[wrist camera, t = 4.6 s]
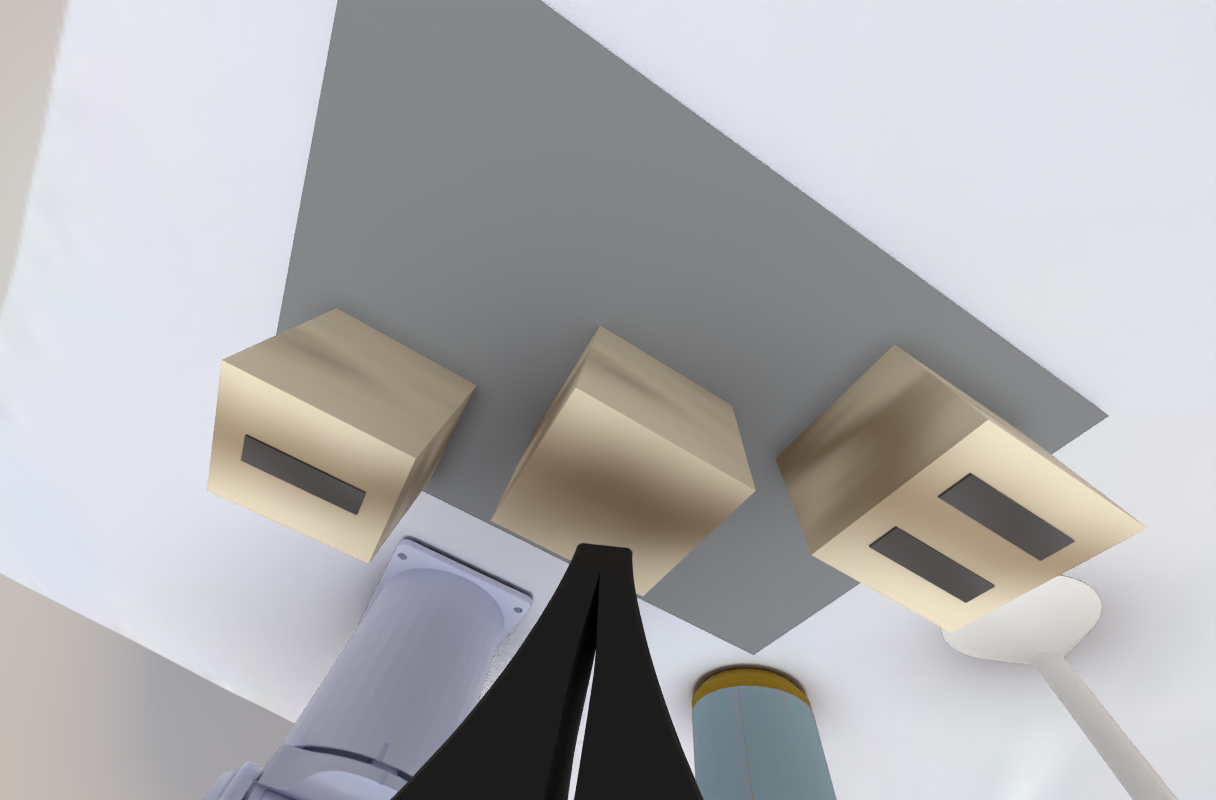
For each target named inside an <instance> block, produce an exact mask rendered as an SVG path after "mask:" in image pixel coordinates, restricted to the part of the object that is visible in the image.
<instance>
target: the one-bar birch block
mask: <svg viewBox="0 0 1216 800" xmlns="http://www.w3.org/2000/svg"><path fill="white" fill-rule="evenodd" d="M475 388H476V385H475V384H474V383H472V382H470V381H468V380H466V379H465V378H463V377H461V376H459V375H457V374H455V373H454V372H452V371H450V370H448V369H446V368H445V367H443V366H441V365H439V364H437V363H435V362H434V361H432V360H430V359H428V358H426V357H425V356H423V355H421V354H419V353H417V352H416V351H414V350H412V349H410V348H408V347H406V346H405V345H403V344H401V343H399V342H397V341H396V340H394V339H392V338H390V337H388V336H386V335H385V334H383V333H381V332H379V331H377V330H376V329H374V328H372V327H370V326H368V325H367V324H365V323H363V322H361V321H359V320H357V319H356V318H354V317H352V316H350V315H348V314H347V313H345V312H343V311H341V310H339V309H337V308H336V309H333V310H331V311H329V312H327V313H325V314H322V315H320V316H318V317H316V318H314V319H311V320H309V321H307V322H305V323H303V324H300V325H298V326H296V327H294V328H292V329H289V330H287V331H285V332H283V333H280V334H278V335H276V336H274V337H272V338H269V339H267V340H265V341H263V342H261V343H258V344H256V345H254V346H252V347H250V348H247V349H245V350H243V351H241V352H239V353H236V354H234V355H232V356H230V357H227V358H225V359H223V360H222V364H221V373H220V381H219V390H218V399H217V408H216V417H215V426H214V434H213V443H212V452H211V461H210V470H209V479H208V487H207V491H209V492H211V493H213V494H216V495H218V496H220V497H222V498H224V499H226V500H229V501H231V502H233V503H235V504H237V505H240V506H242V507H244V508H246V509H248V510H251V511H253V512H255V513H257V514H259V515H262V516H264V517H266V518H268V519H270V520H273V521H275V522H277V523H279V524H281V525H284V526H286V527H288V528H290V529H292V530H294V531H297V532H299V533H301V534H303V535H305V536H308V537H310V538H312V539H314V540H316V541H319V542H321V543H323V544H325V545H327V546H330V547H332V548H334V549H336V550H338V551H341V552H343V553H345V554H347V555H349V556H351V557H354V558H356V559H358V560H360V561H362V562H365V563H367V564H369V562H370V561H371V559H372V558H373V557H374V555H375V554H376V553H377V551H378V550H379V549H380V547H381V546H382V544H383V543H384V542H385V540H386V539H387V538H388V536H389V535H390V534H391V532H392V531H393V529H394V528H395V527H396V525H397V524H398V523H399V521H400V520H401V519H402V517H403V516H404V514H405V513H406V512H407V510H408V509H409V508H410V506H411V505H412V504H413V502H414V501H415V499H416V498H417V497H418V495H419V494H420V493H421V491H422V490H423V488H424V487H425V486H426V484H427V483H428V482H429V480H430V479H431V477H432V475H433V473H434V471H435V469H436V467H437V465H438V463H439V461H440V459H441V457H442V455H443V453H444V451H445V449H446V447H447V445H448V442H449V440H450V438H451V436H452V434H453V432H454V430H455V428H456V426H457V424H458V422H459V420H460V418H461V416H462V414H463V412H464V410H465V408H466V406H467V404H468V402H469V400H470V398H471V396H472V394H473V392H474V390H475Z"/></svg>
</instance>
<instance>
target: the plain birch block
mask: <svg viewBox="0 0 1216 800" xmlns="http://www.w3.org/2000/svg"><path fill="white" fill-rule="evenodd" d="M755 491H756V490H755V487H754V483H753V479H752V476H751V472H750V468H749V465H748V461H747V457H746V454H745V450H744V447H743V443H742V439H741V436H740V432H739V428H738V425H737V421H736V417H735V414H734V410H733V407H732V405H731V404H729V403H727V402H726V401H724V400H723V399H721V398H719V397H718V396H716V395H714V394H713V393H711V392H709V391H708V390H706V389H704V388H703V387H701V386H699V385H698V384H696V383H695V382H693V381H691V380H690V379H688V378H686V377H685V376H683V375H681V374H680V373H678V372H676V371H675V370H673V369H671V368H670V367H668V366H667V365H665V364H663V363H662V362H660V361H658V360H657V359H655V358H653V357H652V356H650V355H648V354H647V353H645V352H643V351H642V350H640V349H639V348H637V347H635V346H634V345H632V344H630V343H629V342H627V341H625V340H624V339H622V338H620V337H619V336H617V335H615V334H614V333H612V332H611V331H609V330H607V329H606V328H604V327H602V326H601V325H600V326H599V328H598V329H597V331H596V333H595V334H594V336H593V337H592V339H591V341H590V342H589V344H588V345H587V347H586V349H585V350H584V352H583V354H582V355H581V357H580V358H579V360H578V362H577V363H576V365H575V366H574V368H573V370H572V371H571V373H570V375H569V376H568V378H567V379H566V381H565V383H564V384H563V386H562V388H561V389H560V391H559V392H558V394H557V396H556V397H555V399H554V400H553V402H552V404H551V405H550V407H549V409H548V410H547V412H546V413H545V415H544V417H543V418H542V420H541V422H540V423H539V425H538V426H537V428H536V430H535V431H534V433H533V434H532V436H531V438H530V440H529V442H528V444H527V446H526V448H525V450H524V452H523V455H522V457H521V459H520V461H519V463H518V465H517V467H516V469H515V471H514V473H513V475H512V477H511V479H510V482H509V484H508V486H507V488H506V490H505V492H504V494H503V496H502V498H501V500H500V502H499V504H498V506H497V509H496V511H495V513H494V515H493V517H492V519H491V521H492V522H494V523H496V524H498V525H500V526H502V527H504V528H506V529H508V530H510V531H512V532H514V533H516V534H518V535H520V536H522V537H524V538H526V539H528V540H530V541H532V542H534V543H536V544H538V545H540V546H542V547H544V548H546V549H548V550H550V551H552V552H554V553H556V554H558V555H560V556H562V557H564V558H566V559H568V560H570V561H571V560H572V558H573V556H574V553H575V551H576V548H577V545H579V544H581V543H588V544H597V545H606V546H616V547H625V548H629V549H630V550H631V551H632V552H633V555H632V561H633V576H634V584H635V590H636V593H637V594H639V595H641V596H644V595H645V594H646V593H647V592H648V591H649V590H650V589H651V588H652V587H654V586H655V585H656V584H657V583H658V582H659V581H660V580H661V579H662V578H663V577H664V576H665V575H666V574H667V573H668V572H670V571H671V570H672V569H673V568H674V567H675V566H676V565H677V564H678V563H679V562H680V561H681V560H682V559H683V558H684V557H686V556H687V555H688V554H689V553H690V552H691V551H692V550H693V549H694V548H695V547H696V546H697V545H698V544H699V543H700V542H702V541H703V540H704V539H705V538H706V537H707V536H708V535H709V534H710V533H711V532H712V531H713V530H714V529H715V528H716V527H717V526H719V525H720V524H721V523H722V522H723V521H724V520H725V519H726V518H727V517H728V516H729V515H730V514H731V513H732V512H733V511H735V510H736V509H737V508H738V507H739V506H740V505H741V504H742V503H743V502H744V501H745V500H746V499H747V498H748V497H749V496H751V495H752V494H753V493H754V492H755Z"/></svg>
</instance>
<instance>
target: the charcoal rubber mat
mask: <svg viewBox="0 0 1216 800" xmlns="http://www.w3.org/2000/svg"><path fill="white" fill-rule="evenodd" d="M336 308H337V309H339V310H341V311H343V312H345V313H347V314H348V315H350V316H352V317H354V318H356V319H357V320H359V321H361V322H363V323H365V324H367V325H368V326H370V327H372V328H374V329H376V330H377V331H379V332H381V333H383V334H385V335H386V336H388V337H390V338H392V339H394V340H396V341H397V342H399V343H401V344H403V345H405V346H406V347H408V348H410V349H412V350H414V351H416V352H417V353H419V354H421V355H423V356H425V357H426V358H428V359H430V360H432V361H434V362H435V363H437V364H439V365H441V366H443V367H445V368H446V369H448V370H450V371H452V372H454V373H455V374H457V375H459V376H461V377H463V378H465V379H466V380H468V381H470V382H472V383H474V384H475V385H476V388H475V390H474V392H473V394H472V396H471V398H470V400H469V402H468V404H467V406H466V408H465V410H464V412H463V414H462V416H461V418H460V420H459V422H458V424H457V426H456V428H455V430H454V432H453V434H452V436H451V438H450V440H449V442H448V445H447V447H446V449H445V451H444V453H443V455H442V457H441V459H440V461H439V463H438V465H437V467H436V469H435V471H434V473H433V475H432V477H431V479H430V480H429V482H428V483H427V484H426V486H425V487H424V488H423V490H422V491H424V492H426V493H428V494H430V495H432V496H434V497H436V498H438V499H440V500H442V501H444V502H446V503H448V504H450V505H452V506H454V507H456V508H458V509H460V510H462V511H464V512H466V513H468V514H470V515H472V516H474V517H476V518H478V519H480V520H482V521H484V522H486V523H488V524H490V525H492V526H494V527H497V528H499V529H501V530H503V531H505V532H507V533H509V534H511V535H513V536H515V537H517V538H519V539H521V540H523V541H525V542H527V543H529V544H531V545H533V546H535V547H537V548H539V549H541V550H543V551H545V552H547V553H549V554H551V555H553V556H555V557H557V558H559V559H561V560H563V561H565V562H567V563H569V564H570V562H571V561H570V560H568V559H566V558H564V557H562V556H560V555H558V554H556V553H554V552H552V551H550V550H548V549H546V548H544V547H542V546H540V545H538V544H536V543H534V542H532V541H530V540H528V539H526V538H524V537H522V536H520V535H518V534H516V533H514V532H512V531H510V530H508V529H506V528H504V527H502V526H500V525H498V524H496V523H494V522H492V521H491V519H492V517H493V515H494V513H495V511H496V509H497V506H498V504H499V502H500V500H501V498H502V496H503V494H504V492H505V490H506V488H507V486H508V484H509V482H510V479H511V477H512V475H513V473H514V471H515V469H516V467H517V465H518V463H519V461H520V459H521V457H522V455H523V452H524V450H525V448H526V446H527V444H528V442H529V440H530V438H531V436H532V434H533V433H534V431H535V430H536V428H537V426H538V425H539V423H540V422H541V420H542V418H543V417H544V415H545V413H546V412H547V410H548V409H549V407H550V405H551V404H552V402H553V400H554V399H555V397H556V396H557V394H558V392H559V391H560V389H561V388H562V386H563V384H564V383H565V381H566V379H567V378H568V376H569V375H570V373H571V371H572V370H573V368H574V366H575V365H576V363H577V362H578V360H579V358H580V357H581V355H582V354H583V352H584V350H585V349H586V347H587V345H588V344H589V342H590V341H591V339H592V337H593V336H594V334H595V333H596V331H597V329H598V328H599V326H600V325H601V326H602V327H604V328H606V329H607V330H609V331H611V332H612V333H614V334H615V335H617V336H619V337H620V338H622V339H624V340H625V341H627V342H629V343H630V344H632V345H634V346H635V347H637V348H639V349H640V350H642V351H643V352H645V353H647V354H648V355H650V356H652V357H653V358H655V359H657V360H658V361H660V362H662V363H663V364H665V365H667V366H668V367H670V368H671V369H673V370H675V371H676V372H678V373H680V374H681V375H683V376H685V377H686V378H688V379H690V380H691V381H693V382H695V383H696V384H698V385H699V386H701V387H703V388H704V389H706V390H708V391H709V392H711V393H713V394H714V395H716V396H718V397H719V398H721V399H723V400H724V401H726V402H727V403H729V404H731V405H732V407H733V410H734V414H735V417H736V421H737V425H738V428H739V432H740V436H741V439H742V443H743V447H744V450H745V454H746V457H747V461H748V465H749V468H750V472H751V476H752V479H753V483H754V487H755V490H756V491H755V492H754V493H753V494H752V495H751V496H749V497H748V498H747V499H746V500H745V501H744V502H743V503H742V504H741V505H740V506H739V507H738V508H737V509H736V510H735V511H733V512H732V513H731V514H730V515H729V516H728V517H727V518H726V519H725V520H724V521H723V522H722V523H721V524H720V525H719V526H717V527H716V528H715V529H714V530H713V531H712V532H711V533H710V534H709V535H708V536H707V537H706V538H705V539H704V540H703V541H702V542H700V543H699V544H698V545H697V546H696V547H695V548H694V549H693V550H692V551H691V552H690V553H689V554H688V555H687V556H686V557H684V558H683V559H682V560H681V561H680V562H679V563H678V564H677V565H676V566H675V567H674V568H673V569H672V570H671V571H670V572H668V573H667V574H666V575H665V576H664V577H663V578H662V579H661V580H660V581H659V582H658V583H657V584H656V585H655V586H654V587H652V588H651V589H650V590H649V591H648V592H647V593H646V594H645V595H644V596H641V595H639V594H637V593H636V596H637V597H638V598H640V599H642V600H644V601H646V602H648V603H650V604H652V605H654V606H656V607H658V608H660V609H662V610H664V611H666V612H668V613H670V614H672V615H674V616H676V617H678V618H680V619H682V620H684V621H686V622H688V623H690V624H692V625H694V626H696V627H698V628H700V629H702V630H704V631H706V632H708V633H710V634H712V635H714V636H716V637H718V638H720V639H722V640H724V641H726V642H728V643H730V644H732V645H734V646H736V647H738V648H740V649H743V650H745V651H747V652H749V653H751V654H753V655H754V654H756V653H757V652H759V651H760V650H762V649H763V648H765V647H766V646H768V645H769V644H771V643H772V642H774V641H775V640H777V639H778V638H779V637H781V636H782V635H784V634H785V633H787V632H788V631H790V630H791V629H793V628H794V627H796V626H797V625H799V624H800V623H802V622H803V621H805V620H806V619H808V618H809V617H811V616H812V615H814V614H815V613H817V612H818V611H820V610H821V609H823V608H824V607H826V606H827V605H829V604H830V603H832V602H833V601H834V600H836V599H837V598H839V597H840V596H842V595H843V594H845V593H846V592H848V591H849V590H851V589H852V588H854V587H855V586H857V585H858V584H860V583H861V582H859V581H857V580H855V579H853V578H852V577H850V576H848V575H846V574H844V573H843V572H841V571H839V570H837V569H835V568H834V567H832V566H830V565H828V564H827V563H825V562H823V561H821V560H819V559H818V558H816V557H814V556H812V555H811V553H810V550H809V548H808V545H807V542H806V539H805V537H804V534H803V531H802V529H801V526H800V523H799V521H798V518H797V515H796V512H795V510H794V507H793V504H792V502H791V499H790V496H789V494H788V491H787V488H786V486H785V483H784V480H783V477H782V475H781V472H780V469H779V467H778V464H777V461H776V459H775V458H777V457H778V456H779V455H780V454H781V453H782V452H783V451H784V450H785V449H786V448H787V447H788V446H789V445H790V444H791V443H792V442H793V441H794V440H795V439H796V438H797V437H798V436H799V435H800V434H802V433H803V432H804V431H805V430H806V429H807V428H808V427H809V426H810V425H811V424H812V423H813V422H814V421H815V420H816V419H817V418H818V417H819V416H820V415H821V414H822V413H823V412H824V411H825V410H827V409H828V408H829V407H830V406H831V405H832V404H833V403H834V402H835V401H836V400H837V399H838V398H839V397H840V396H841V395H842V394H843V393H844V392H845V391H846V390H847V389H848V388H849V387H851V386H852V385H853V384H854V383H855V382H856V381H857V380H858V379H859V378H860V377H861V376H862V375H863V374H864V373H865V372H866V371H867V370H868V369H869V368H870V367H871V366H872V365H873V364H874V363H876V362H877V361H878V360H879V359H880V358H881V357H882V356H883V355H884V354H885V353H886V352H887V351H888V350H889V349H890V348H891V347H892V346H893V345H894V344H895V345H896V346H898V347H899V348H901V349H902V350H904V351H905V352H907V353H908V354H909V355H911V356H912V357H914V358H915V359H917V360H918V361H920V362H921V363H923V364H924V365H925V366H927V367H928V368H930V369H931V370H933V371H934V372H936V373H937V374H939V375H940V376H941V377H943V378H944V379H946V380H947V381H949V382H950V383H952V384H953V385H955V386H956V387H957V388H959V389H960V390H962V391H963V392H965V393H966V394H968V395H969V396H971V397H972V398H973V399H975V400H976V401H978V402H979V403H981V404H982V405H984V406H985V407H987V408H988V409H990V410H991V411H992V412H994V413H995V414H997V415H998V416H1000V417H1001V418H1003V419H1004V420H1006V421H1007V422H1008V423H1010V424H1011V425H1013V426H1014V427H1016V428H1017V429H1018V430H1020V431H1021V432H1022V433H1024V434H1025V435H1026V436H1028V437H1029V438H1030V439H1031V440H1033V441H1034V442H1035V443H1037V444H1038V445H1039V446H1041V447H1042V448H1043V449H1045V450H1046V451H1047V452H1048V453H1050V454H1053V453H1054V452H1056V451H1057V450H1059V449H1060V448H1062V447H1063V446H1065V445H1066V444H1068V443H1069V442H1071V441H1072V440H1074V439H1075V438H1077V437H1078V436H1080V435H1081V434H1083V433H1084V432H1086V431H1087V430H1089V429H1090V428H1092V427H1093V426H1095V425H1096V424H1098V423H1099V422H1101V421H1102V420H1104V419H1105V418H1106V417H1108V416H1109V415H1107V414H1106V413H1104V412H1103V411H1102V410H1100V409H1099V408H1098V407H1096V406H1095V405H1094V404H1092V403H1091V402H1089V401H1088V400H1087V399H1085V398H1084V397H1083V396H1081V395H1080V394H1078V393H1077V392H1076V391H1074V390H1073V389H1072V388H1070V387H1069V386H1067V385H1066V384H1065V383H1063V382H1062V381H1061V380H1059V379H1058V378H1057V377H1055V376H1054V375H1052V374H1051V373H1050V372H1048V371H1047V370H1046V369H1044V368H1043V367H1041V366H1040V365H1039V364H1037V363H1036V362H1035V361H1033V360H1032V359H1031V358H1029V357H1028V356H1026V355H1025V354H1024V353H1022V352H1021V351H1020V350H1018V349H1017V348H1015V347H1014V346H1013V345H1011V344H1010V343H1009V342H1007V341H1006V340H1004V339H1003V338H1002V337H1000V336H999V335H998V334H996V333H995V332H994V331H992V330H991V329H989V328H988V327H987V326H985V325H984V324H983V323H981V322H980V321H978V320H977V319H976V318H974V317H973V316H972V315H970V314H969V313H968V312H966V311H965V310H963V309H962V308H961V307H959V306H958V305H957V304H955V303H954V302H952V301H951V300H950V299H948V298H947V297H946V296H944V295H943V294H941V293H940V292H939V291H937V290H936V289H935V288H933V287H932V286H931V285H929V284H928V283H926V282H925V281H924V280H922V279H921V278H920V277H918V276H917V275H915V274H914V273H913V272H911V271H910V270H909V269H907V268H906V267H905V266H903V265H902V264H900V263H899V262H898V261H896V260H895V259H894V258H892V257H891V256H889V255H888V254H887V253H885V252H884V251H883V250H881V249H880V248H878V247H877V246H876V245H874V244H873V243H872V242H870V241H869V240H868V239H866V238H865V237H863V236H862V235H861V234H859V233H858V232H857V231H855V230H854V229H852V228H851V227H850V226H848V225H847V224H846V223H844V222H843V221H842V220H840V219H839V218H837V217H836V216H835V215H833V214H832V213H831V212H829V211H828V210H826V209H825V208H824V207H822V206H821V205H820V204H818V203H817V202H815V201H814V200H813V199H811V198H810V197H809V196H807V195H806V194H805V193H803V192H802V191H800V190H799V189H798V188H796V187H795V186H794V185H792V184H791V183H789V182H788V181H787V180H785V179H784V178H783V177H781V176H780V175H779V174H777V173H776V172H774V171H773V170H772V169H770V168H769V167H768V166H766V165H765V164H763V163H762V162H761V161H759V160H758V159H757V158H755V157H754V156H752V155H751V154H750V153H748V152H747V151H746V150H744V149H743V148H742V147H740V146H739V145H737V144H736V143H735V142H733V141H732V140H731V139H729V138H728V137H726V136H725V135H724V134H722V133H721V132H720V131H718V130H717V129H715V128H714V127H713V126H711V125H710V124H709V123H707V122H706V121H705V120H703V119H702V118H700V117H699V116H698V115H696V114H695V113H694V112H692V111H691V110H689V109H688V108H687V107H685V106H684V105H683V104H681V103H680V102H679V101H677V100H676V99H674V98H673V97H672V96H670V95H669V94H668V93H666V92H665V91H663V90H662V89H661V88H659V87H658V86H657V85H655V84H654V83H652V82H651V81H650V80H648V79H647V78H646V77H644V76H643V75H642V74H640V73H639V72H637V71H636V70H635V69H633V68H632V67H631V66H629V65H628V64H626V63H625V62H624V61H622V60H621V59H620V58H618V57H617V56H616V55H614V54H613V53H611V52H610V51H609V50H607V49H606V48H605V47H603V46H602V45H600V44H599V43H598V42H596V41H595V40H594V39H592V38H591V37H589V36H588V35H587V34H585V33H584V32H583V31H581V30H580V29H579V28H577V27H576V26H574V25H573V24H572V23H570V22H569V21H568V20H566V19H565V18H563V17H562V16H561V15H559V14H558V13H557V12H555V11H554V10H553V9H551V8H550V7H548V6H547V5H546V4H544V3H543V2H542V1H540V0H338V2H337V7H336V13H335V18H334V23H333V29H332V34H331V40H330V45H329V51H328V56H327V62H326V67H325V72H324V78H323V83H322V89H321V94H320V100H319V105H318V111H317V116H316V121H315V127H314V132H313V138H312V143H311V149H310V154H309V160H308V165H307V170H306V176H305V181H304V187H303V192H302V198H301V203H300V209H299V214H298V219H297V225H296V230H295V236H294V241H293V247H292V252H291V258H290V263H289V268H288V274H287V279H286V285H285V290H284V296H283V301H282V307H281V312H280V317H279V323H278V328H277V334H276V335H278V334H280V333H283V332H285V331H287V330H289V329H292V328H294V327H296V326H298V325H300V324H303V323H305V322H307V321H309V320H311V319H314V318H316V317H318V316H320V315H322V314H325V313H327V312H329V311H331V310H333V309H336Z"/></svg>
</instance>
